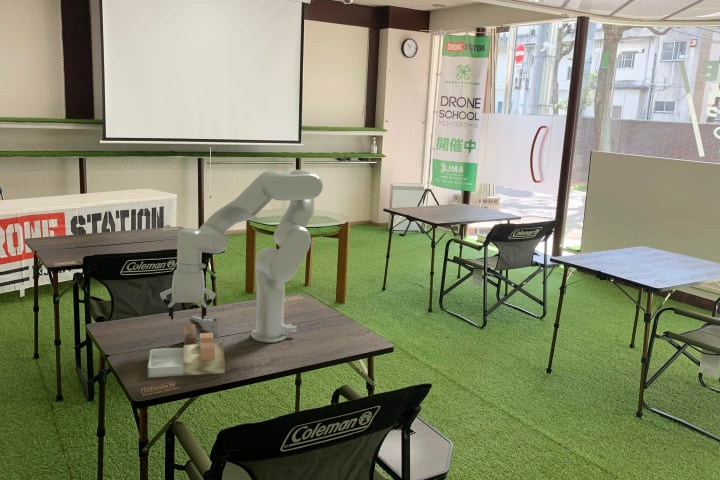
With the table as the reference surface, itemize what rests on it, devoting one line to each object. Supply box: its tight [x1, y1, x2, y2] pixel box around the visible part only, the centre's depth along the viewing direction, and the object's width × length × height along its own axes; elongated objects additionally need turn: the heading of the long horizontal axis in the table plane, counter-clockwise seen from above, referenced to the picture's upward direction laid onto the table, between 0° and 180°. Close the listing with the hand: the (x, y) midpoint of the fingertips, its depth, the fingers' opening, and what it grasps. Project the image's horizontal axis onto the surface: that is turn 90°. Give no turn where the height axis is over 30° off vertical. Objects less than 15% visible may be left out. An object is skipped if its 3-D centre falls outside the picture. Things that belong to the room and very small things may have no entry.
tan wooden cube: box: [201, 341, 215, 361], centre depth 190 cm, size 4×4×4 cm
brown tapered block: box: [183, 324, 197, 346], centre depth 206 cm, size 4×12×6 cm, turn 16°
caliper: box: [190, 316, 219, 336], centre depth 225 cm, size 20×1×6 cm, turn 39°
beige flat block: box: [183, 342, 226, 376], centre depth 194 cm, size 12×14×4 cm
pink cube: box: [199, 332, 214, 350], centre depth 197 cm, size 4×4×4 cm
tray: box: [147, 347, 185, 378], centre depth 191 cm, size 10×14×3 cm
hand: (187, 318), depth 204 cm, fingers open, 9 cm apart
